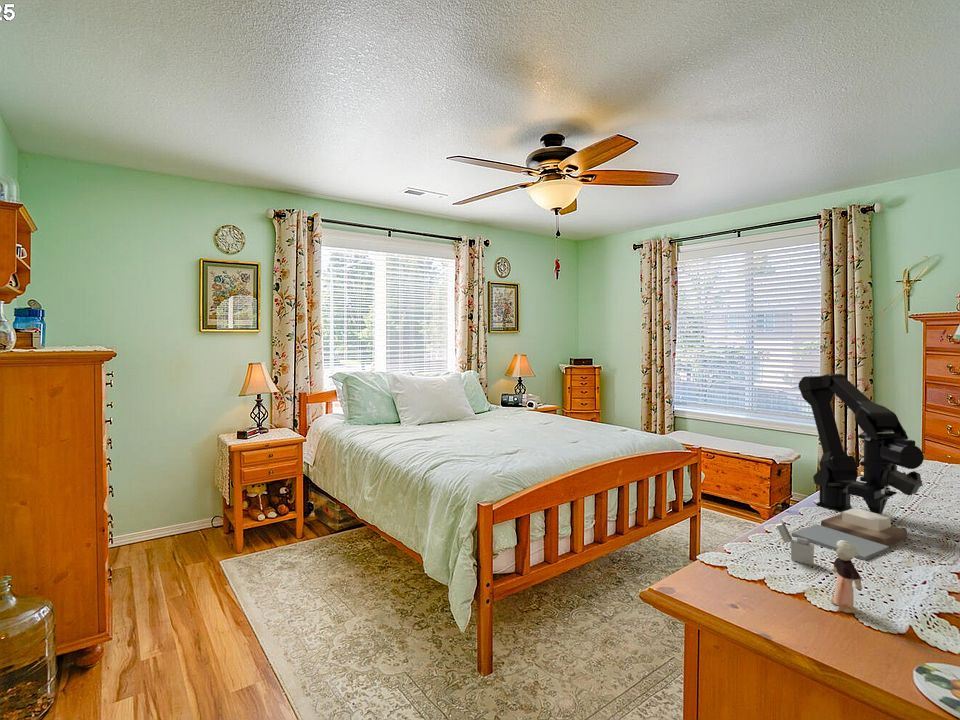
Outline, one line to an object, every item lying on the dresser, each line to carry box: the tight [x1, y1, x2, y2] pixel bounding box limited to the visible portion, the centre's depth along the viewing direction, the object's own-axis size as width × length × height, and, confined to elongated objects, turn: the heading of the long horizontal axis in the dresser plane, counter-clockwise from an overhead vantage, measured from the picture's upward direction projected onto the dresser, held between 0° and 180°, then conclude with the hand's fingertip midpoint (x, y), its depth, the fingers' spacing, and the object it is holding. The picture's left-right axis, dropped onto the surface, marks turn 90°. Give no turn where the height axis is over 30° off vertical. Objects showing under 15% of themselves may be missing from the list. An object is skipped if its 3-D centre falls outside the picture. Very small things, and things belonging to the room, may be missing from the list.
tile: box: [841, 507, 892, 532], centre depth 126 cm, size 8×6×2 cm
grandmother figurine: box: [830, 540, 863, 614], centre depth 92 cm, size 8×4×13 cm, turn 5°
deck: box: [820, 513, 908, 547], centre depth 125 cm, size 14×11×2 cm
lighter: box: [775, 521, 815, 566], centre depth 111 cm, size 7×2×8 cm, turn 47°
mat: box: [791, 523, 890, 561], centre depth 120 cm, size 16×11×1 cm
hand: (877, 518), depth 128 cm, fingers closed
